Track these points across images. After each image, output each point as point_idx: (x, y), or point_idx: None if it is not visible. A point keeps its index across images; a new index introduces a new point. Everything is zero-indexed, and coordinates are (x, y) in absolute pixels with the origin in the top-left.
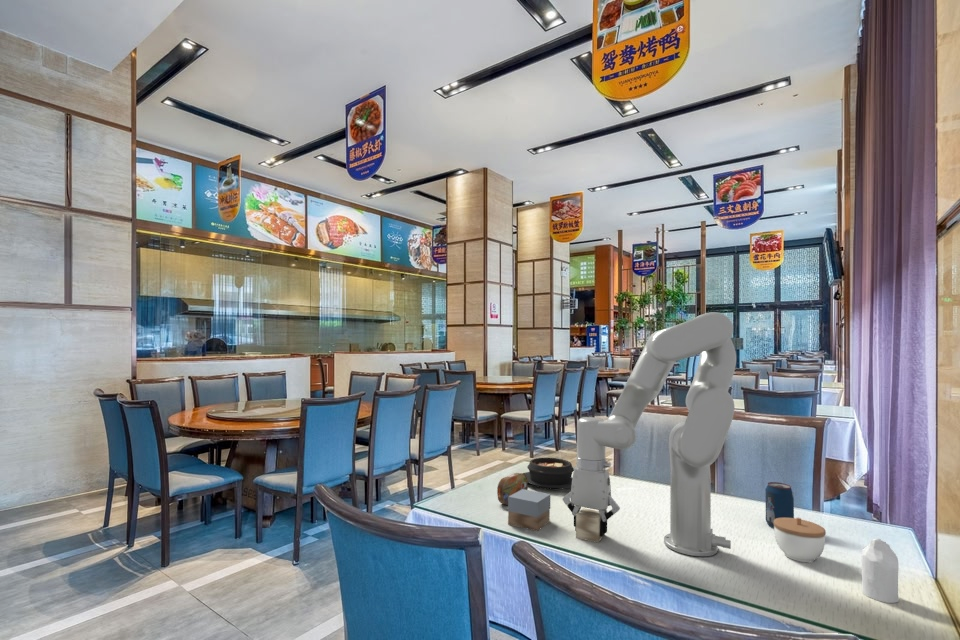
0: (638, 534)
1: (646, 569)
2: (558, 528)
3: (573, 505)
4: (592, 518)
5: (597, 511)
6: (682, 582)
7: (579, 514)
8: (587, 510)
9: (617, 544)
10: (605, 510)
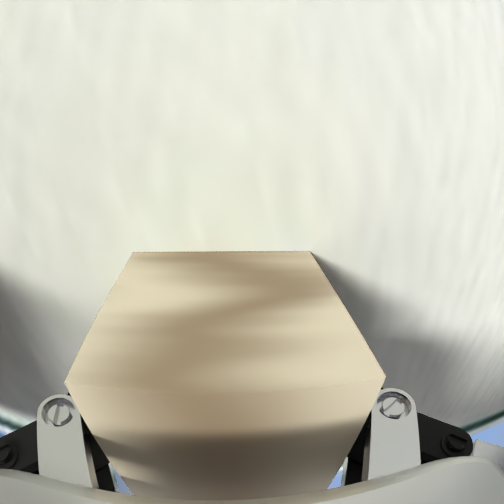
0: (491, 134)
1: None
2: (16, 304)
3: (30, 470)
4: (275, 496)
5: (293, 407)
6: (488, 416)
7: (156, 495)
8: (158, 426)
9: (390, 342)
10: (404, 467)
